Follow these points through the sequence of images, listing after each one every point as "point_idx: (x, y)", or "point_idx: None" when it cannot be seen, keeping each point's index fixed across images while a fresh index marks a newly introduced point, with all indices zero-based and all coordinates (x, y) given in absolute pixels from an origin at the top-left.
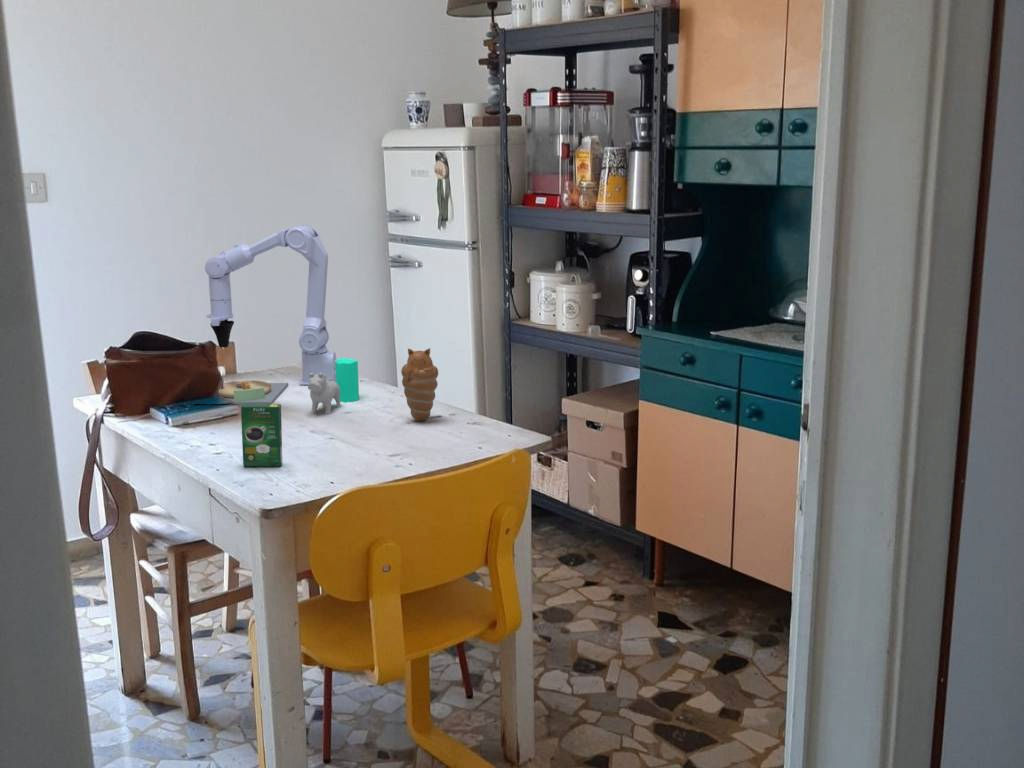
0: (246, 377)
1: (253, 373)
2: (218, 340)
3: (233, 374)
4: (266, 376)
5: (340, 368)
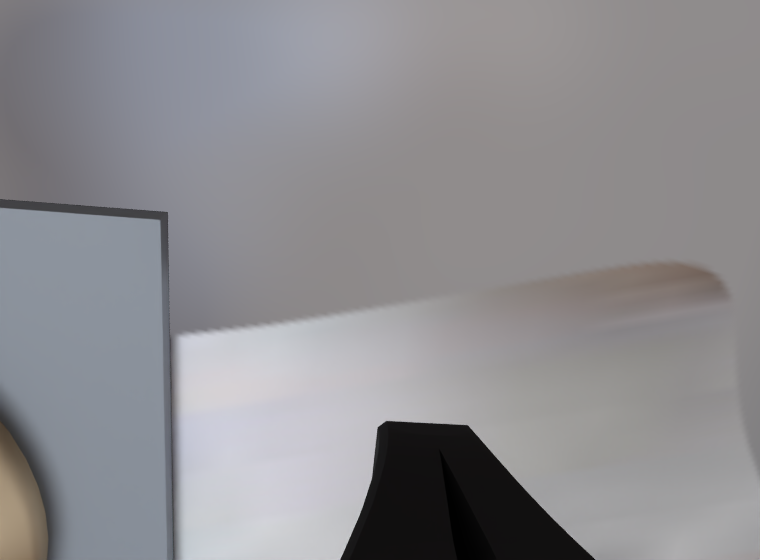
0: (517, 408)
1: (674, 436)
2: (368, 509)
3: (678, 275)
4: None
5: None
